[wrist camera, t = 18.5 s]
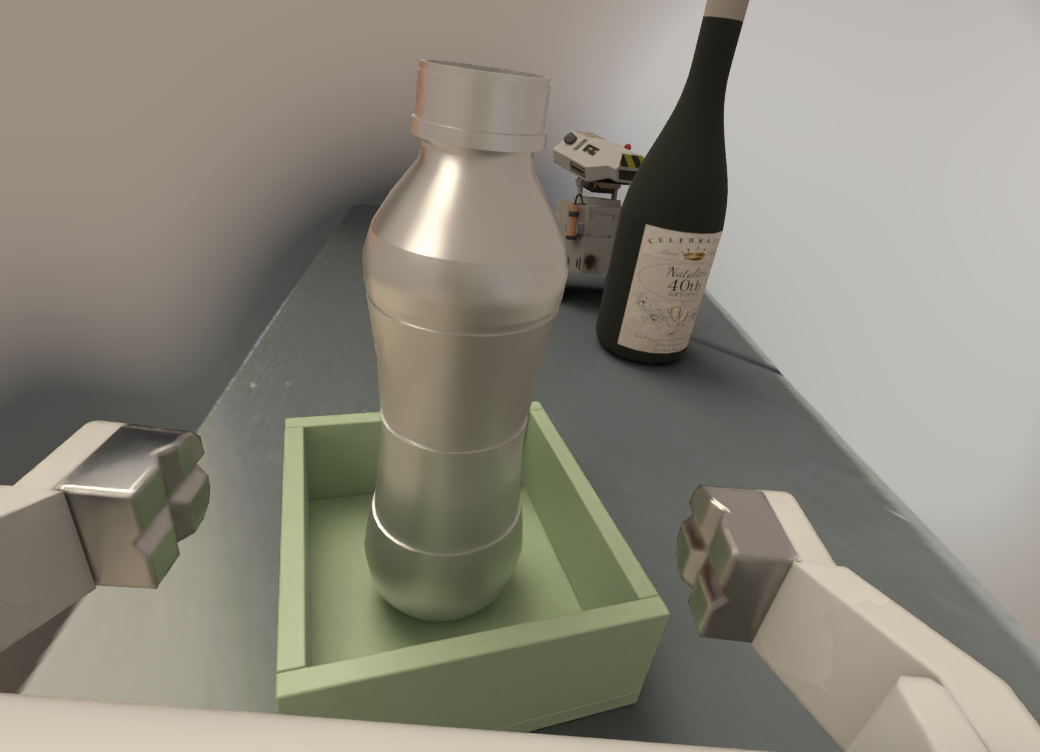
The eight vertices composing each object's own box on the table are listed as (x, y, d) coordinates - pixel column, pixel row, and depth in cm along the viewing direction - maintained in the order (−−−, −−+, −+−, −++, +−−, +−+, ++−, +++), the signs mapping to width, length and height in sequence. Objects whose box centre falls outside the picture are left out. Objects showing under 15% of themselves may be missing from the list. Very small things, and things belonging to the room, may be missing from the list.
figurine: (599, 270, 68) (627, 134, 61) (635, 310, 58) (673, 154, 51) (524, 266, 66) (544, 125, 59) (548, 306, 56) (575, 143, 49)
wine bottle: (702, 366, 49) (844, -72, 34) (621, 372, 46) (738, -103, 32) (652, 325, 55) (755, -59, 41) (579, 328, 53) (660, -83, 38)
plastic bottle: (541, 565, 27) (641, 89, 17) (454, 678, 22) (526, 83, 12) (431, 504, 29) (462, 60, 19) (329, 593, 24) (302, 43, 14)
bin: (636, 702, 22) (671, 613, 20) (288, 797, 18) (275, 699, 16) (525, 477, 33) (539, 400, 31) (292, 504, 29) (285, 417, 27)
